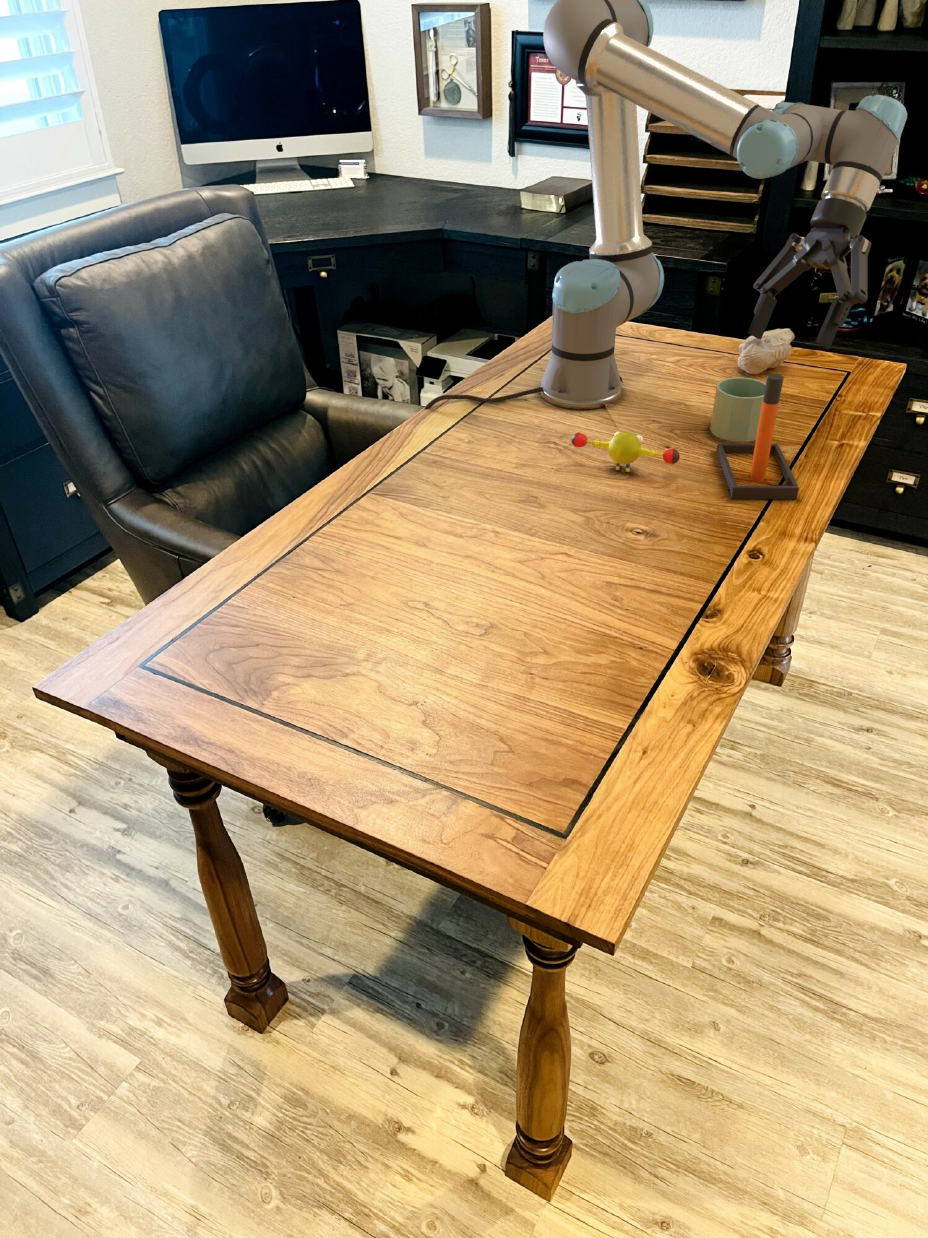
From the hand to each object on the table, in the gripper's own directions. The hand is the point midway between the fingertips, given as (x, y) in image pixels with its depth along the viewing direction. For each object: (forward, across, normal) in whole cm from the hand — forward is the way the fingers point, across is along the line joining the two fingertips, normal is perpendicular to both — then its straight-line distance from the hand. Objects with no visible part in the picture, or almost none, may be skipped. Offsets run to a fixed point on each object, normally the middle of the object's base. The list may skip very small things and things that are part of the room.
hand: (786, 340), depth 150 cm
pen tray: (+21, -1, -4) cm, 21 cm away
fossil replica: (-2, +30, -30) cm, 42 cm away
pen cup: (+14, +12, -10) cm, 21 cm away
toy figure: (+28, +12, +11) cm, 32 cm away
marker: (+21, -2, -3) cm, 21 cm away
